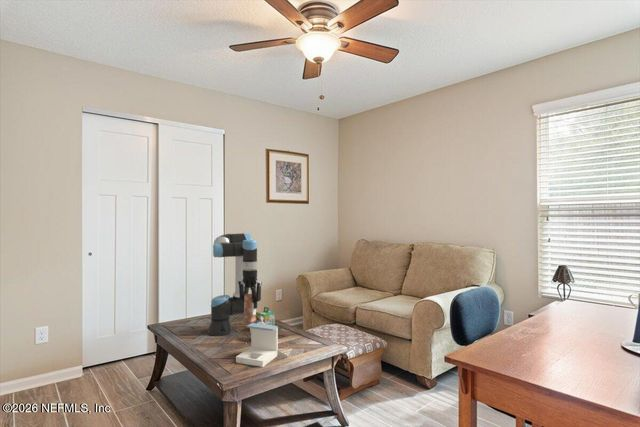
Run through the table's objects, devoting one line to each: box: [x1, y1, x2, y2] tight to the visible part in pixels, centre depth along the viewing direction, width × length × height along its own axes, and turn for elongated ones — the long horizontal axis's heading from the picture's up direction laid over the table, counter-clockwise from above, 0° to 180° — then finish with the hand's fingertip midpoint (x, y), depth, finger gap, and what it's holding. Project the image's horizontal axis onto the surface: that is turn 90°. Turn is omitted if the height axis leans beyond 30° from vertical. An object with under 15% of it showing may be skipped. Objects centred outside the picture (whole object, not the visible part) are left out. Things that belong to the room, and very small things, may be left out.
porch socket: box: [235, 322, 279, 368], centre depth 192 cm, size 16×16×16 cm
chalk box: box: [255, 306, 276, 326], centre depth 240 cm, size 9×9×15 cm
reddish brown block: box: [244, 292, 256, 324], centre depth 188 cm, size 4×4×14 cm
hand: (250, 314), depth 188 cm, fingers closed on reddish brown block, 4 cm apart
